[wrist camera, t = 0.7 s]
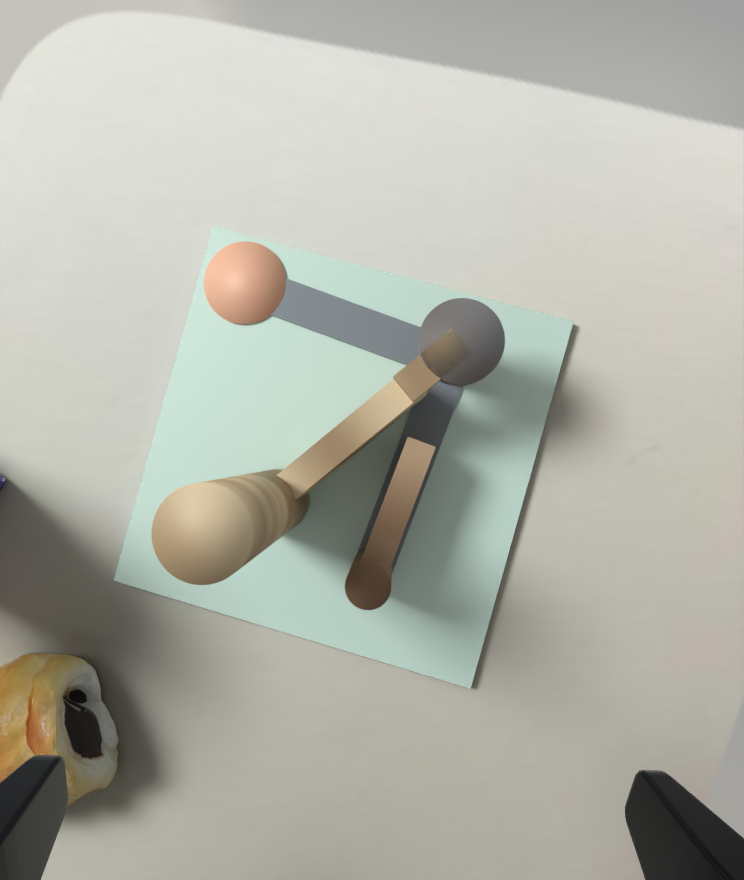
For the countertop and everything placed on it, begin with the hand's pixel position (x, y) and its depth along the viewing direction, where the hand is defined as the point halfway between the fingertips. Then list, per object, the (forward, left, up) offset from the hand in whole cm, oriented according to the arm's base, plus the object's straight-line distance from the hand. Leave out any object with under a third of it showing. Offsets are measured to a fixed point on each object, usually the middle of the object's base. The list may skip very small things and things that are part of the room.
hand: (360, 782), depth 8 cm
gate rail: (+6, +2, -16) cm, 17 cm away
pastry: (-12, +14, -17) cm, 25 cm away
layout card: (+4, +3, -16) cm, 17 cm away
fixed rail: (+5, 0, -16) cm, 17 cm away
